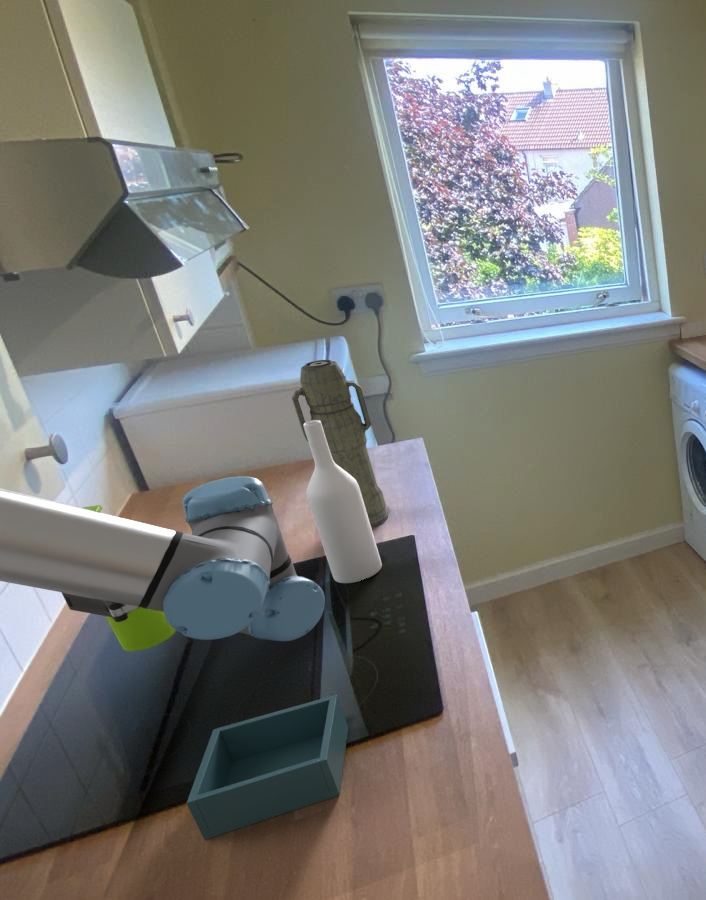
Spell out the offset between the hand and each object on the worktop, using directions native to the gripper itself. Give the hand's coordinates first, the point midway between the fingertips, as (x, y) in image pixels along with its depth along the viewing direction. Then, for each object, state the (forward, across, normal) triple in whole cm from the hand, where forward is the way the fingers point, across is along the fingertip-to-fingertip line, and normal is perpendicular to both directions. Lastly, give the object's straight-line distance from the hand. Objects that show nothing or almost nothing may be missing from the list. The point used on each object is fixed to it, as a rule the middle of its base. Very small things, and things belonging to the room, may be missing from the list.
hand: (88, 564), depth 97 cm
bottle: (+1, +36, -23) cm, 42 cm away
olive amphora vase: (+17, +52, -23) cm, 59 cm away
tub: (-32, -5, -23) cm, 40 cm away
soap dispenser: (-5, 0, -11) cm, 12 cm away
